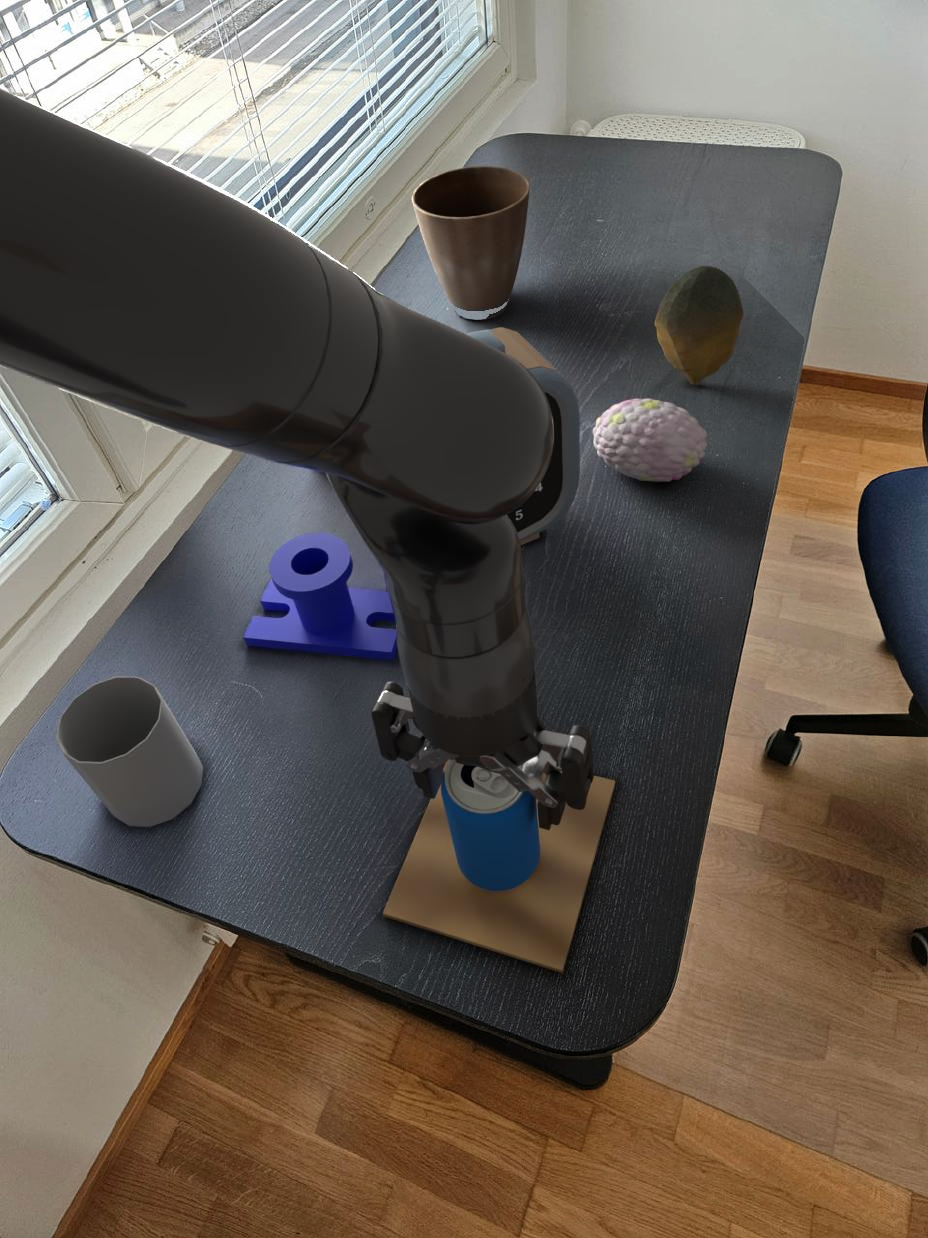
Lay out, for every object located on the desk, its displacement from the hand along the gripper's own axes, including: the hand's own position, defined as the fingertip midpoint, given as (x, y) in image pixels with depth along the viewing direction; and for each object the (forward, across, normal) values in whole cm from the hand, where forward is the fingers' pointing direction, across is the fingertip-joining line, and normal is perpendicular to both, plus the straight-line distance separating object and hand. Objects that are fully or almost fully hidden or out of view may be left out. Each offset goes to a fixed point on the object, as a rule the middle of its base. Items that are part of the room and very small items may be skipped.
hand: (490, 802), depth 63 cm
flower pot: (+9, -28, +78) cm, 83 cm away
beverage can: (+8, 0, 0) cm, 8 cm away
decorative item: (+9, +1, +49) cm, 50 cm away
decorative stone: (+9, +3, +65) cm, 66 cm away
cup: (+9, -31, -2) cm, 32 cm away
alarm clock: (+9, -14, +34) cm, 38 cm away
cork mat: (+9, 0, +1) cm, 9 cm away
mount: (+9, -24, +19) cm, 32 cm away
